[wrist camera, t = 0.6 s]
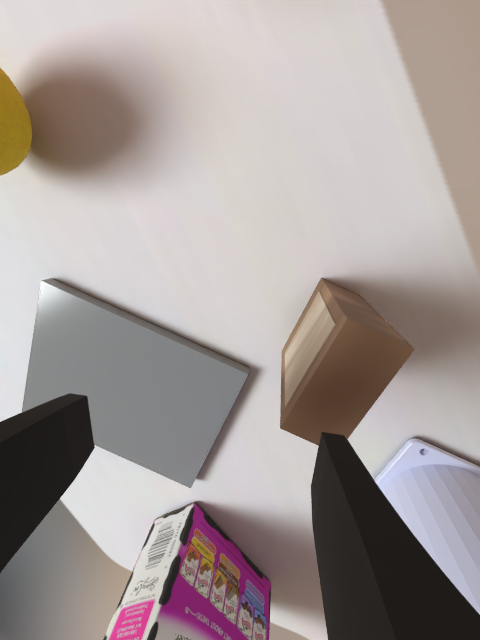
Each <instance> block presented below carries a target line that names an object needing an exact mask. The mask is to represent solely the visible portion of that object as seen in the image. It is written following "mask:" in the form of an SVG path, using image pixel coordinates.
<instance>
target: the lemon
mask: <svg viewBox="0 0 480 640" xmlns="http://www.w3.org/2000/svg"><path fill="white" fill-rule="evenodd" d="M31 141H32V124H31V120H30V116H29V112H28V110H27V108H26V105H25V103H24V101H23V99H22V96H21V94H20V93H19V92H18V90H17V89H16V87H15V86H14V84H13V83H12V81H11V80H10V78H9V77H8V76H7V75H6V74H5V72H4V71H3V70H2V69H1V68H0V175H3V174H6V173H8V172H9V171H11V170H13V169H15V168H16V167H18V166H19V165H20V164H21V162H22V161H23V160H24V159H25V158H26V156H27V154H28V152H29V150H30V147H31Z"/></svg>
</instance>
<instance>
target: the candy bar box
mask: <svg viewBox="0 0 480 640" xmlns="http://www.w3.org/2000/svg"><path fill="white" fill-rule="evenodd" d="M270 599H271V583H270V582H269V580H268V579H267V578H266V577H265V576H264V575H263V574H262V573H261V572H260V571H259V570H258V569H257V567H256V566H255V565H254V564H253V563H252V562H251V561H250V560H249V559H248V558H247V557H246V556H245V555H244V554H243V553H242V552H241V551H240V550H239V549H238V548H237V547H236V546H235V545H234V544H233V542H232V541H231V540H230V539H229V538H228V537H227V536H226V535H225V534H224V533H223V532H222V531H221V530H220V529H219V528H218V527H217V526H216V525H215V524H214V523H213V522H212V521H211V520H210V519H209V518H208V517H207V515H206V514H205V513H204V512H203V511H202V510H201V509H200V508H199V507H198V506H197V505H196V504H195V503H192V504H189V505H187V506H184V507H182V508H180V509H178V510H175V511H172V512H170V513H167V514H165V515H162V516H161V517H159V518H157V519H155V520H154V523H153V525H152V527H151V529H150V532H149V534H148V536H147V539H146V541H145V543H144V546H143V548H142V551H141V553H140V555H139V557H138V560H137V562H136V565H135V567H134V569H133V572H132V574H131V576H130V579H129V581H128V583H127V585H126V588H125V590H124V593H123V595H122V597H121V600H120V602H119V604H118V607H117V609H116V612H115V614H114V616H113V618H112V620H111V623H110V625H109V627H108V629H107V632H106V634H105V637H104V639H103V640H269V628H270V627H269V624H270Z"/></svg>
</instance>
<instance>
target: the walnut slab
mask: <svg viewBox="0 0 480 640" xmlns="http://www.w3.org/2000/svg"><path fill="white" fill-rule="evenodd" d="M413 350H414V348H413V347H412V346H411V345H410V344H409V343H408V342H407V341H406V340H405V339H404V338H403V337H402V336H401V335H400V334H399V333H398V332H397V331H396V330H395V329H394V328H393V327H392V326H391V325H390V324H389V323H388V322H387V321H385V320H384V319H383V318H382V317H381V316H380V315H379V314H378V313H377V312H376V311H375V310H374V309H373V308H372V307H371V306H370V305H369V304H368V303H367V302H366V301H365V300H364V299H363V298H362V297H361V296H360V295H358V294H355V293H353V292H351V291H349V290H347V289H344V288H342V287H340V286H338V285H336V284H333V283H331V282H329V281H327V280H325V279H322V278H321V280H320V281H319V283H318V285H317V287H316V289H315V291H314V292H313V294H312V296H311V298H310V300H309V302H308V304H307V305H306V307H305V309H304V311H303V313H302V315H301V317H300V318H299V320H298V322H297V324H296V326H295V328H294V329H293V331H292V333H291V335H290V337H289V339H288V341H287V342H286V344H285V346H284V348H283V350H282V370H281V419H280V428H281V429H283V430H285V431H287V432H290V433H292V434H294V435H296V436H299V437H301V438H303V439H305V440H307V441H310V442H312V443H314V444H316V445H318V446H319V443H320V437H321V432H326V433H332V434H339V435H344V436H345V437H346V439H348V438H349V436H350V435H351V434H352V432H353V431H354V430H355V428H356V427H357V425H358V424H359V423H360V421H361V420H362V419H363V417H364V416H365V415H366V413H367V412H368V411H369V409H370V408H371V407H372V405H373V404H374V403H375V401H376V400H377V399H378V397H379V396H380V395H381V393H382V392H383V391H384V389H385V388H386V387H387V385H388V384H389V383H390V381H391V380H392V379H393V377H394V376H395V375H396V373H397V372H398V371H399V369H400V368H401V366H402V365H403V364H404V362H405V361H406V360H407V358H408V357H409V356H410V354H411V353H412V352H413Z"/></svg>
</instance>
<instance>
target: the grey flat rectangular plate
mask: <svg viewBox="0 0 480 640" xmlns="http://www.w3.org/2000/svg"><path fill="white" fill-rule="evenodd" d="M249 370H250V368H248V367H246V366H244V365H242V364H240V363H237V362H235V361H233V360H231V359H228V358H226V357H224V356H222V355H220V354H217V353H215V352H213V351H211V350H209V349H206V348H204V347H202V346H200V345H198V344H195V343H193V342H191V341H189V340H186V339H184V338H182V337H180V336H178V335H175V334H173V333H171V332H169V331H167V330H164V329H162V328H160V327H158V326H156V325H153V324H151V323H149V322H147V321H144V320H142V319H140V318H138V317H136V316H133V315H131V314H129V313H127V312H125V311H122V310H120V309H118V308H116V307H114V306H111V305H109V304H107V303H105V302H102V301H100V300H98V299H96V298H94V297H91V296H89V295H87V294H85V293H83V292H80V291H78V290H76V289H74V288H72V287H69V286H67V285H65V284H63V283H60V282H58V281H56V280H54V279H52V278H51V279H47V280H42V281H41V286H40V293H39V299H38V306H37V313H36V320H35V326H34V333H33V340H32V347H31V353H30V360H29V367H28V373H27V380H26V387H25V394H24V400H23V407H22V412H25V411H27V410H29V409H31V408H34V407H36V406H38V405H41V404H43V403H45V402H48V401H50V400H53V399H55V398H58V397H60V396H63V395H66V394H69V393H72V394H78V395H85V396H87V397H88V405H89V412H90V419H91V426H92V433H93V440H94V445H96V446H99V447H101V448H103V449H105V450H107V451H110V452H112V453H114V454H116V455H118V456H121V457H123V458H125V459H127V460H129V461H132V462H134V463H136V464H138V465H141V466H143V467H145V468H147V469H149V470H152V471H154V472H156V473H158V474H160V475H163V476H165V477H167V478H169V479H172V480H174V481H176V482H178V483H180V484H183V485H185V486H187V487H189V488H191V487H192V485H193V483H194V481H195V479H196V477H197V475H198V473H199V471H200V469H201V467H202V465H203V463H204V461H205V459H206V457H207V455H208V453H209V451H210V449H211V447H212V445H213V443H214V441H215V439H216V437H217V435H218V433H219V431H220V429H221V427H222V425H223V423H224V422H225V420H226V418H227V416H228V414H229V412H230V410H231V408H232V406H233V404H234V402H235V400H236V398H237V396H238V394H239V392H240V390H241V388H242V386H243V384H244V382H245V380H246V378H247V376H248V374H249Z"/></svg>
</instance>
